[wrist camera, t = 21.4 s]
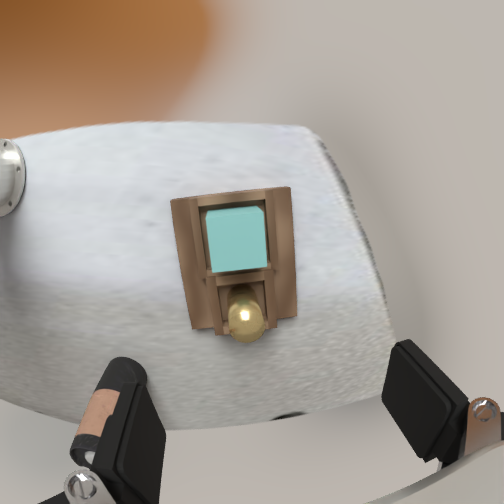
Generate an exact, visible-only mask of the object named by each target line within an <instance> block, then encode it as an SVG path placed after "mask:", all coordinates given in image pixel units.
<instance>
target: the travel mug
mask: <svg viewBox="0 0 504 504" xmlns="http://www.w3.org/2000/svg"><path fill="white" fill-rule="evenodd" d="M146 381H147V375H146V372H145V370H144V368H143V367H142V366H141V365H140V364H139V363H138V362H136V361H134V360H132V359H130V358H127V357H117V358H114V359H113V360H112V361H111V362H110V363H109V365H108V366H107V368H106V370H105V372H104V374H103V375H102V377H101V379H100V381H99V383H98V385H97V387H96V389H95V391H94V393H93V395H92V397H91V399H90V401H89V404H88V406H87V408H86V411H85V413H84V415H83V418H82V420H81V423H80V425H79V428H78V430H77V433H76V435H75V438H74V441H73V443H72V446H71V448H70V456H71V458H72V459H73V460H74V462H75V463H76V464H77V465H79V466H84V467H87V468H89V469H90V468H91V464H92V461H93V458H94V455H95V452H96V449H97V445H98V442H99V439H100V436H101V433H102V431H103V428H104V425H105V422H106V419H107V417H108V416H109V415H112V414H113V411H114V408H115V405H116V402H117V400H118V397H119V394H120V391H121V389H122V386H123V384H124V382H140V383H141V385H142V386H146Z"/></svg>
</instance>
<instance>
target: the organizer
mask: <svg viewBox="0 0 504 504" xmlns="http://www.w3.org/2000/svg"><path fill="white" fill-rule="evenodd" d="M170 203H171V211H172V218H173V225H174V231H175V238H176V244H177V251H178V257H179V262H180V268H181V274H182V279H183V285H184V290H185V295H186V301H187V306H188V311H189V316H190V320H191V325H192V329H201V328H210V327H214V330H215V335H225V334H230V332H229V321H228V307H227V294H228V292H229V290H230V289H231V288H232V287H234V286H236V285H239V284H245V285H249V286H250V287H252V288H253V289H254V290H255V292H256V295H257V299H258V302H259V305H260V309H261V312H262V316H263V319H264V322H265V329H271V328H277V319H281V318H287V317H294V316H297V296H296V272H295V251H294V233H293V217H292V203H291V189H290V187H276V188H265V189H254V190H244V191H235V192H226V193H217V194H209V195H201V196H193V197H185V198H178V199H172V200H171V201H170ZM255 205H256V206H258V207H259V208H260V209H261V210H262V211H263V213H264V227H265V241H266V255H267V267H261V268H252V269H243V270H234V271H224V272H215V273H212V267H211V259H210V251H209V243H208V234H207V225H206V215H207V212H208V210H215V209H224V208H234V207H245V206H255Z"/></svg>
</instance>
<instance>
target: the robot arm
mask: <svg viewBox="0 0 504 504" xmlns="http://www.w3.org/2000/svg"><path fill="white" fill-rule="evenodd" d="M24 183H25V164H24V159H23V156H22V153H21V151H20V149H19V147H18V146H17V145H16V144H15V143H14V142H13V141H11V140H8V139H0V217H1V216H4V215H7V214H9V213H10V212H11V211H12V210H13V209H14V208H15V207H16V205H17V204H18V202H19V200H20V198H21V195H22V192H23V188H24ZM382 402H383V403H384V405H385V407H386V408H387V410H388V411H389V413H390V414H391V416H392V417H393V419H394V420H395V422H396V424H397V425H398V426H399V428H400V429H401V431H402V433H403V434H404V436H405V437H406V439H407V440H408V442H409V444H410V445H411V447H412V448H413V450H414V451H415V453H416V455H417V456H418V457H419V458H423V460H424V461H425V463H426V462H428V461H430V460H432V459H434V458H436V457H437V458H438V460H439V464H438V469H437V472H436V473H434V474H432V475H430V476H428V477H426V478H424V479H422V480H420V481H418V482H416V483H414V484H412V485H410V486H407V487H405V488H403V489H401V490H398V491H396V492H394V493H391V494H389V495H386V496H384V497H381V498H379V499H376V500H373V501H371V502H368V503H365V504H504V412H500V408H499V406H498V404H497V403H496V402H495V401H494V400H492V399H490V398H485V397H482V398H481V397H480V398H477V399H475V400H473V401H472V402H471V403H469V401H468V398H467V397H466V395H465V394H464V393H463V392H462V391H461V390H460V389H459V388H458V387H457V386H456V385H455V384H454V383H453V382H452V381H451V380H450V379H449V378H448V377H447V376H446V375H445V373H443V371H442V370H440V369H439V367H438V366H437V365H436V364H434V362H433V361H432V360H431V359H430V358H429V357H428V356H427V355H426V354H425V353H424V352H423V351H422V350H421V349H420V348H419V347H418V346H417V345H416V344H415V343H413V341H412V340H410V339H407V340H404V341H401V342H397V343H396V344H395V346H394V347H393V348H392V350H391V354H390V360H389V365H388V369H387V374H386V378H385V383H384V387H383V391H382ZM165 442H166V433H165V429H164V427H163V425H162V423H161V421H160V419H159V416H158V414H157V412H156V410H155V407H154V405H153V403H152V400H151V398H150V395H149V393H148V391H147V388H146V386H142V385H141V383H140V382H124V384H123V386H122V389H121V391H120V394H119V397H118V400H117V402H116V405H115V408H114V411H113V414H112V415H109V416H108V417H107V419H106V422H105V425H104V428H103V431H102V433H101V436H100V439H99V442H98V445H97V449H96V452H95V455H94V458H93V461H92V464H91V468H90V471H88V470H78V471H74V472H73V473H71V474H70V475H69V476H68V477H67V478H66V480H65V482H64V492H62V493H60V494H58V495H56V496H54V497H52V498H50V499H48V500H45V501H43V502H41V503H39V504H159V496H160V486H161V476H162V467H163V459H164V451H165Z"/></svg>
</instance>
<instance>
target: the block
mask: <svg viewBox="0 0 504 504" xmlns="http://www.w3.org/2000/svg"><path fill="white" fill-rule="evenodd" d="M206 225H207V234H208V243H209V251H210V259H211V267H212V273H215V272H224V271H234V270H243V269H252V268H261V267H267V255H266V241H265V227H264V213H263V211H262V210H261V209H260V208H259V207H258V206H256V205H255V206H245V207H234V208H224V209H215V210H208V212H207V215H206Z"/></svg>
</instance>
